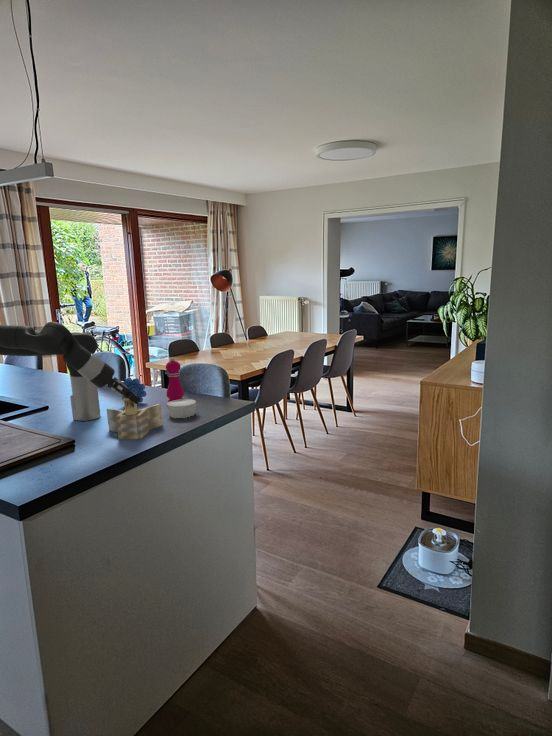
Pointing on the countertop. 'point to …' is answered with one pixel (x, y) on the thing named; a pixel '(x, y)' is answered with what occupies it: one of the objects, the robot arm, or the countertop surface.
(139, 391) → the grapes
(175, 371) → the pepper mill
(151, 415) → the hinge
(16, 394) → the countertop surface
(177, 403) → the ramekin
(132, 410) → the brass peg
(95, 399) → the robot arm
